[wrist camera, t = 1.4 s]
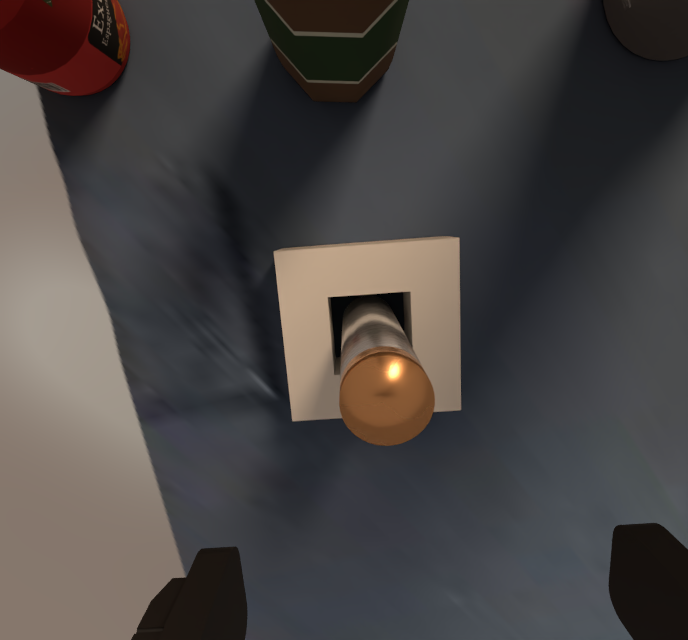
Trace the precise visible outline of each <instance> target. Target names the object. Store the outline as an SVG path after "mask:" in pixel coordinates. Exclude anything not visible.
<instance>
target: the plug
mask: <svg viewBox="0 0 688 640" xmlns="http://www.w3.org/2000/svg"><path fill="white" fill-rule="evenodd" d="M434 406H435V395H434V390H433V386H432V384H431V382H430V380H429V378H428V376H427V374H426V372H425V371H424V369H423V367H422V365H421V363H420V361H419V359H418V357H417V356H416V354H415V352H414V350H413V348H412V346H411V344H410V343H409V341H408V339H407V337H406V335H405V333H404V331H403V330H402V328H401V326H400V324H399V322H398V320H397V318H396V316H395V315H394V313H393V311H392V309H391V307H390V306H389V305H388V303H387V302H386V301H384V300H383V299H381V298H379V297H376V296H371V295H366V296H361V297H358V298H356V299H354V300H353V301H352V302H351V303H350V304H349V305H348V306H347V307H346V309H345V311H344V314H343V319H342V344H341V369H340V393H339V407H340V412H341V416H342V418H343V420H344V422H345V424H346V426H347V427H348V428H349V429H350V431H351V432H352V433H353V434H355V435H356V436H357V437H359V438H360V439H362V440H364V441H366V442H368V443H371V444H375V445H382V446H390V445H397V444H401V443H404V442H406V441H409V440H410V439H412V438H414V437H415V436H417V435H418V434H419V433H420V432H421V431H422V430H423V429H424V428H425V427H426V426H427V424H428V423H429V421H430V419H431V417H432V414H433V411H434Z"/></svg>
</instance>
